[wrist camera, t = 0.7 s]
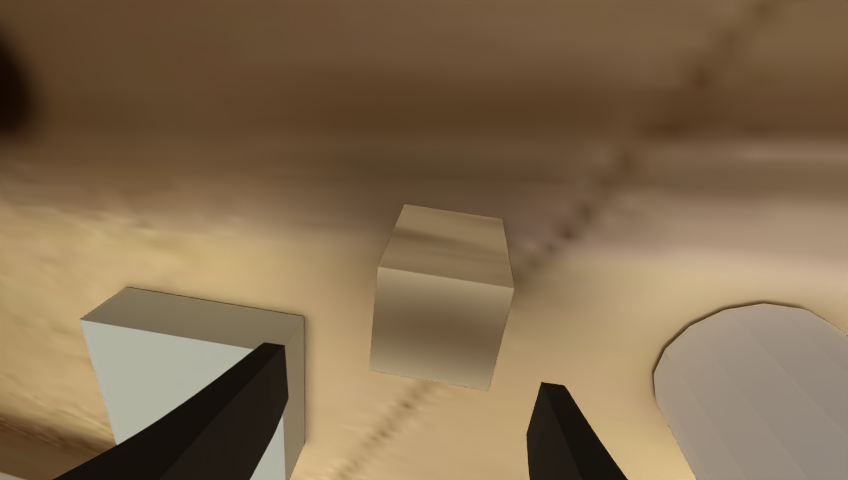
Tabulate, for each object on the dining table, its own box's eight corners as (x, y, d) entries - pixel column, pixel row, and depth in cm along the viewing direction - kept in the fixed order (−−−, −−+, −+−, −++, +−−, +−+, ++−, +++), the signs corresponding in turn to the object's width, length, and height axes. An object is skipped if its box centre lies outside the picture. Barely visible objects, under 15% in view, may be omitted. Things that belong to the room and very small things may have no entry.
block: (484, 300, 21) (488, 391, 15) (395, 286, 21) (369, 370, 15) (502, 218, 19) (514, 288, 13) (404, 203, 19) (377, 266, 13)
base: (304, 442, 26) (285, 487, 24) (155, 416, 27) (120, 457, 24) (303, 316, 22) (280, 353, 19) (126, 287, 23) (79, 319, 20)
